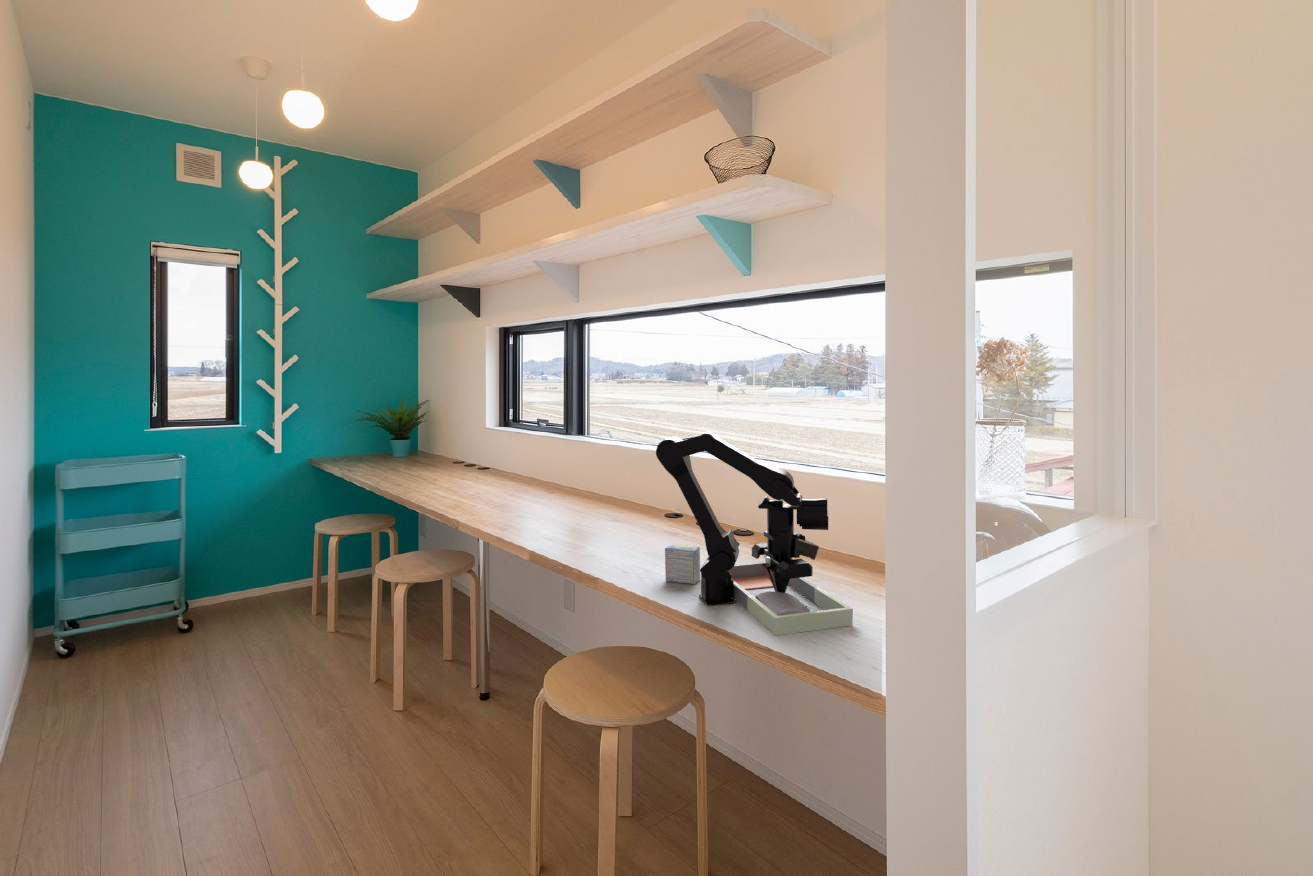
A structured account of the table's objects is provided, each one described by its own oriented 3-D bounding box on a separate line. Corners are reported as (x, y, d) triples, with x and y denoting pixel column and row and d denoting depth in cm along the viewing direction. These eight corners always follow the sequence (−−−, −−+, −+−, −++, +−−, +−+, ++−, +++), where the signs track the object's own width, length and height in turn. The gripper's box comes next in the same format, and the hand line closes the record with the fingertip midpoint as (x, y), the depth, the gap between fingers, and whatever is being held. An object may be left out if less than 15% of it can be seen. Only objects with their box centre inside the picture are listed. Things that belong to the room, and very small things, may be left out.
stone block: (792, 613, 146) (749, 608, 144) (796, 592, 145) (754, 587, 144) (814, 636, 134) (768, 630, 132) (819, 613, 134) (773, 608, 132)
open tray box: (775, 635, 129) (775, 618, 128) (712, 580, 163) (712, 567, 163) (852, 625, 133) (852, 608, 133) (775, 574, 168) (775, 560, 167)
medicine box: (700, 579, 165) (700, 545, 164) (695, 585, 161) (694, 550, 160) (671, 576, 168) (670, 543, 167) (665, 581, 163) (664, 547, 163)
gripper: (835, 535, 137) (835, 607, 139) (794, 516, 155) (794, 580, 157) (786, 539, 134) (786, 613, 136) (750, 520, 152) (751, 585, 154)
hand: (780, 597), depth 146 cm, fingers closed
